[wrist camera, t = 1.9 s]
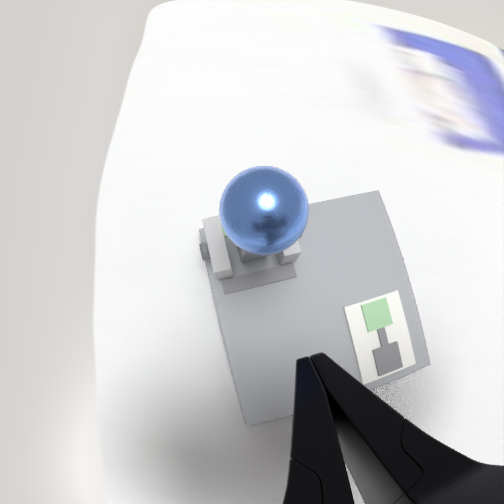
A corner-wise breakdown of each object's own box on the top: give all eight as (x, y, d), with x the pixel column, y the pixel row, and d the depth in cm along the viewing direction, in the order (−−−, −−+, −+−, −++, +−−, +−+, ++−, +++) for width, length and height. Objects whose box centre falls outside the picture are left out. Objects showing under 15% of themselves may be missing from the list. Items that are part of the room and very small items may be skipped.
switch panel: (423, 363, 19) (449, 366, 16) (246, 422, 18) (245, 438, 15) (373, 195, 23) (391, 174, 19) (201, 233, 22) (192, 215, 18)
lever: (281, 260, 19) (330, 237, 9) (233, 271, 19) (229, 261, 9) (269, 212, 20) (303, 144, 9) (221, 223, 19) (207, 163, 9)
